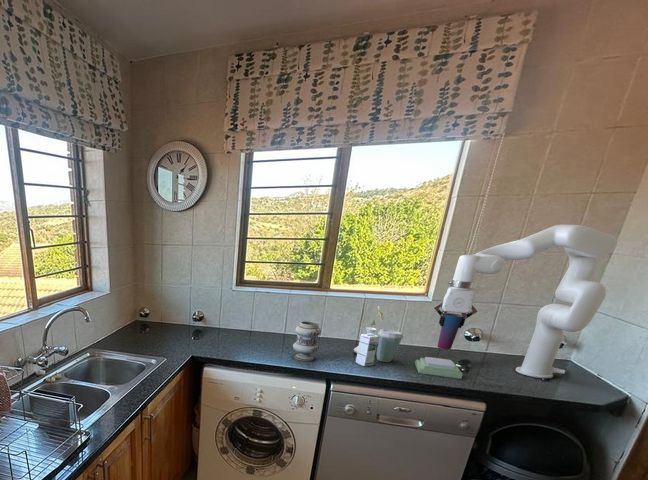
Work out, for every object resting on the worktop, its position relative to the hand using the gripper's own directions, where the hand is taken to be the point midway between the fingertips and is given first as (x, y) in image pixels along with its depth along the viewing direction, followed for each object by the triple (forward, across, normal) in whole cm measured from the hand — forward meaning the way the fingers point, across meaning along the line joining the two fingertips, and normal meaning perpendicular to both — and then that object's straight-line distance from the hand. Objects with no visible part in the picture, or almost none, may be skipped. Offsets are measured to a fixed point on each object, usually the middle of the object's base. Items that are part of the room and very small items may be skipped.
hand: (450, 326), depth 177 cm
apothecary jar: (+21, -57, -9) cm, 62 cm away
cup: (+10, 0, 0) cm, 10 cm away
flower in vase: (+21, -29, +12) cm, 38 cm away
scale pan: (+18, 0, 0) cm, 18 cm away
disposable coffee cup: (+21, -21, +6) cm, 31 cm away
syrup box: (+21, -30, -5) cm, 37 cm away
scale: (+21, 0, 0) cm, 21 cm away
